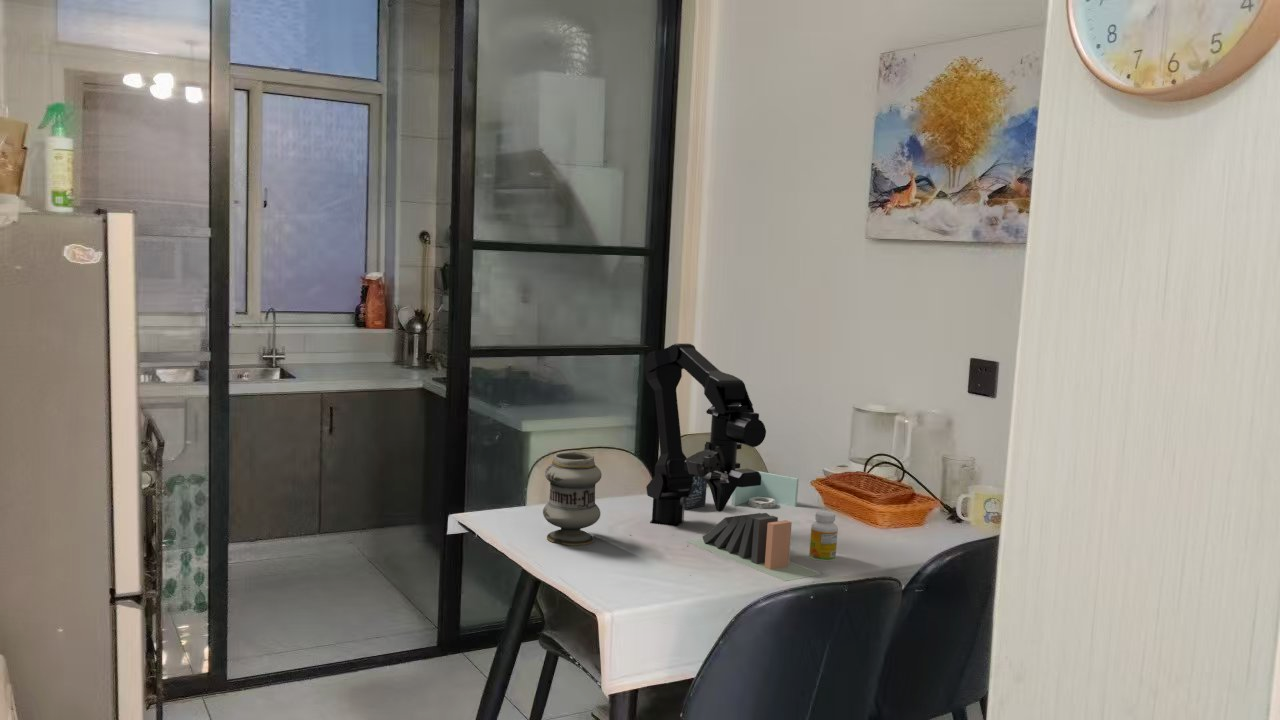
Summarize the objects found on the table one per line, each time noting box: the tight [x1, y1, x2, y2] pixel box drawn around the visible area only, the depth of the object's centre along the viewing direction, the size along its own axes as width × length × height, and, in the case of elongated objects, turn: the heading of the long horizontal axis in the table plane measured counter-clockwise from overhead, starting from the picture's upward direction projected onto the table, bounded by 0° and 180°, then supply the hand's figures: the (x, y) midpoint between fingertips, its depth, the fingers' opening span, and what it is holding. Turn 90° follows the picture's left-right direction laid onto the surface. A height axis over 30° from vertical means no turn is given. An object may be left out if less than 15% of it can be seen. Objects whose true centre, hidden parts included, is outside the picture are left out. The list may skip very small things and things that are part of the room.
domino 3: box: [726, 512, 761, 554], centre depth 216 cm, size 2×5×9 cm, turn 126°
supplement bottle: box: [808, 510, 838, 562], centre depth 217 cm, size 5×5×10 cm
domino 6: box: [765, 519, 793, 570], centre depth 208 cm, size 2×5×9 cm, turn 126°
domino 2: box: [714, 514, 743, 549], centre depth 218 cm, size 2×5×9 cm
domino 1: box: [701, 514, 742, 544], centre depth 221 cm, size 2×5×9 cm
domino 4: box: [738, 512, 771, 559], centre depth 213 cm, size 2×5×9 cm, turn 126°
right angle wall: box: [731, 470, 799, 509], centre depth 262 cm, size 12×12×8 cm
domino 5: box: [751, 515, 779, 564], centre depth 211 cm, size 2×5×9 cm, turn 126°
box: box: [682, 475, 708, 511], centre depth 257 cm, size 8×6×11 cm
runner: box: [685, 538, 822, 582], centre depth 214 cm, size 30×10×1 cm, turn 36°
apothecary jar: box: [542, 451, 602, 546], centre depth 221 cm, size 12×12×18 cm
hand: (719, 511), depth 222 cm, fingers closed
